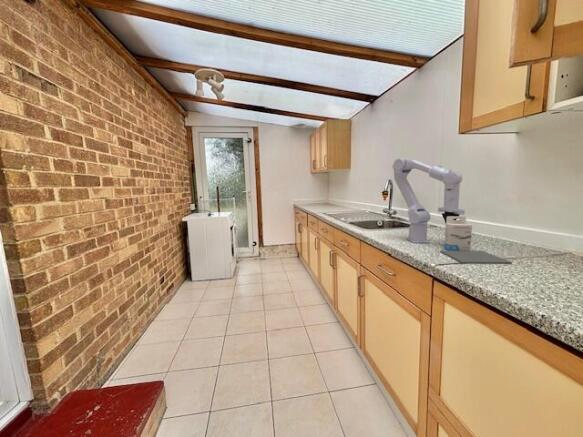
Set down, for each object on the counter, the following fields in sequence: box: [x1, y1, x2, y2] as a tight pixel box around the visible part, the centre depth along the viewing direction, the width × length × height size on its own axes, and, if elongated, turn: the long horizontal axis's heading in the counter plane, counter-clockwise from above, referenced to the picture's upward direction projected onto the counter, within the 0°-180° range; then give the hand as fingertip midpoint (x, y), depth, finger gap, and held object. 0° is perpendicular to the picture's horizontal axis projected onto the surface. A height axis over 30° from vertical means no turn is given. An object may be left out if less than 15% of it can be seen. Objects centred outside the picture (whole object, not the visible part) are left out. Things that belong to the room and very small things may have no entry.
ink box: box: [443, 215, 473, 251], centre depth 109 cm, size 9×5×15 cm, turn 84°
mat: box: [439, 250, 513, 265], centre depth 99 cm, size 16×17×1 cm
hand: (449, 228), depth 116 cm, fingers closed
